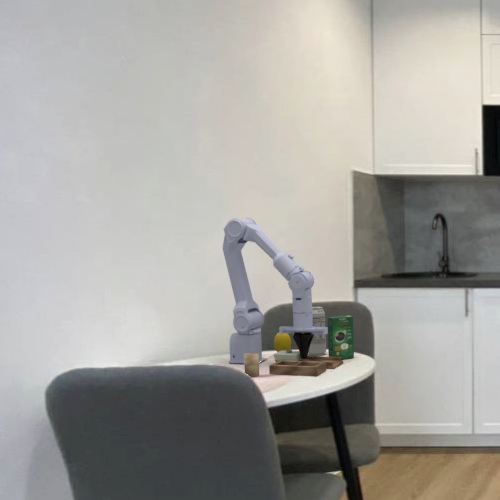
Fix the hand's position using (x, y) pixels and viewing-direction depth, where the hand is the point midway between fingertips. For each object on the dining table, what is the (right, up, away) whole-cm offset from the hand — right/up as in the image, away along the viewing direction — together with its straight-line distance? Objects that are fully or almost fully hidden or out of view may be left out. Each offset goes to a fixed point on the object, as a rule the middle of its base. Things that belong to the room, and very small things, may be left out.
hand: (304, 358), depth 214 cm
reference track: (+1, -2, 0) cm, 2 cm away
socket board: (-3, -2, -11) cm, 11 cm away
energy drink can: (+5, -1, +16) cm, 17 cm away
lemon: (-6, -2, +17) cm, 18 cm away
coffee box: (+12, -2, +7) cm, 14 cm away
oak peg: (-15, -3, -13) cm, 20 cm away
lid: (-4, -1, +2) cm, 5 cm away
